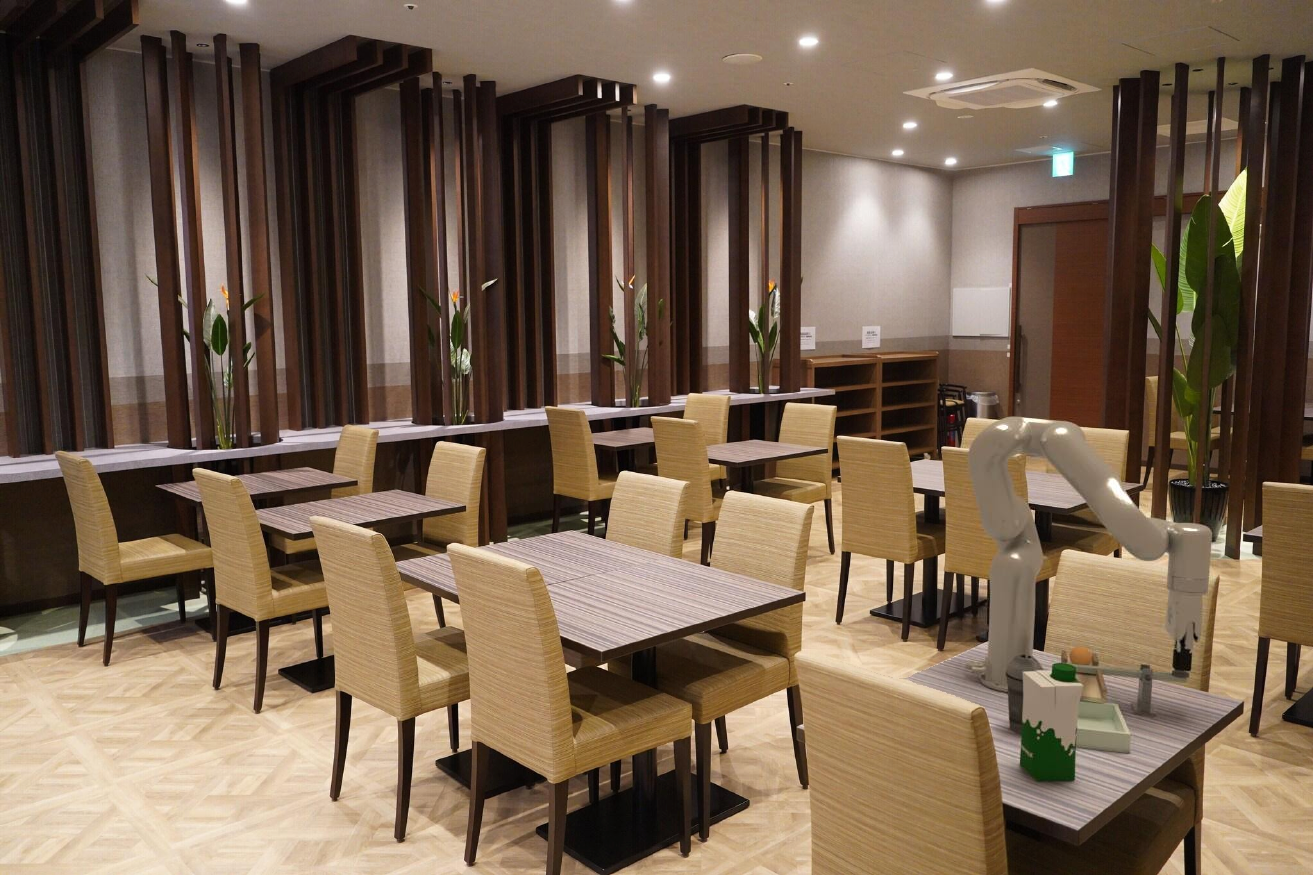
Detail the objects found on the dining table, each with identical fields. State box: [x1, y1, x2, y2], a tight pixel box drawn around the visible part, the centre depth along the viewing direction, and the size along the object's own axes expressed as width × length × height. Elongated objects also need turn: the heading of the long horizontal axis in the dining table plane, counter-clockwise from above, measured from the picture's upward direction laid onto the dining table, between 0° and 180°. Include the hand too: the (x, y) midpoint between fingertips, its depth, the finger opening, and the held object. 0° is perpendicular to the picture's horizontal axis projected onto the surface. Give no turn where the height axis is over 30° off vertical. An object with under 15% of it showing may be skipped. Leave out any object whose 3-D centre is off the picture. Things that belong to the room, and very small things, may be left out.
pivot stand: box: [1130, 663, 1157, 718], centre depth 207 cm, size 4×5×10 cm
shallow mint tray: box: [1076, 700, 1132, 754], centre depth 196 cm, size 12×15×4 cm
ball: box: [1069, 646, 1092, 665], centre depth 213 cm, size 4×4×4 cm
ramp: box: [1060, 650, 1108, 703], centre depth 209 cm, size 7×16×10 cm, turn 164°
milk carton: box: [1019, 662, 1084, 783], centre depth 178 cm, size 9×9×20 cm
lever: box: [1066, 663, 1190, 684], centre depth 208 cm, size 25×3×2 cm, turn 74°
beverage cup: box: [1006, 636, 1044, 736], centre depth 196 cm, size 7×7×20 cm
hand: (1181, 669), depth 205 cm, fingers closed
